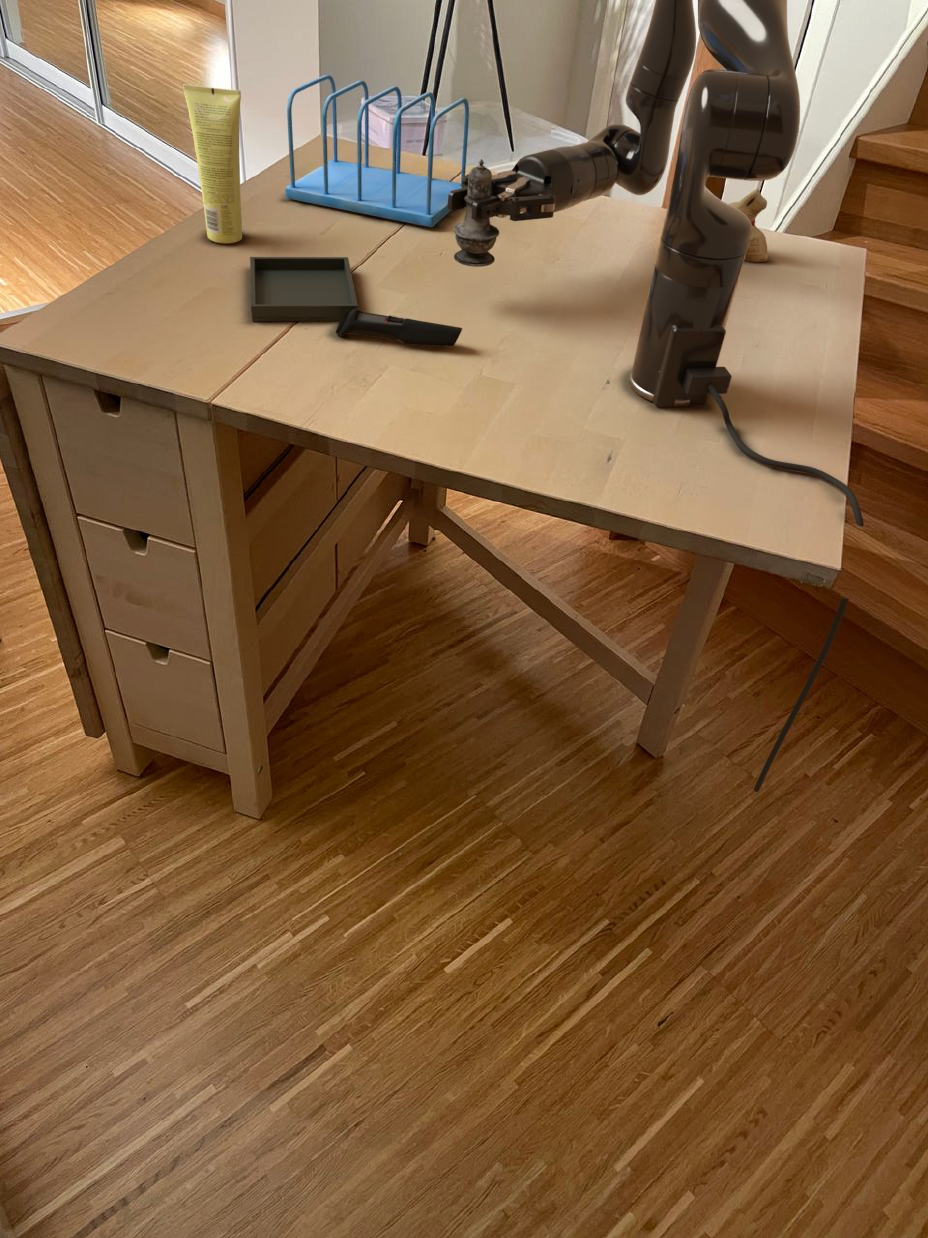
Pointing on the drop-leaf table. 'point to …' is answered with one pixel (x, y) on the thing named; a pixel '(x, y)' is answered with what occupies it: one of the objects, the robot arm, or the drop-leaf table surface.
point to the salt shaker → (476, 223)
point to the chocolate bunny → (751, 209)
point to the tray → (301, 288)
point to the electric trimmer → (397, 329)
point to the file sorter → (375, 168)
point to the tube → (217, 157)
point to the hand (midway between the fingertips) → (462, 206)
